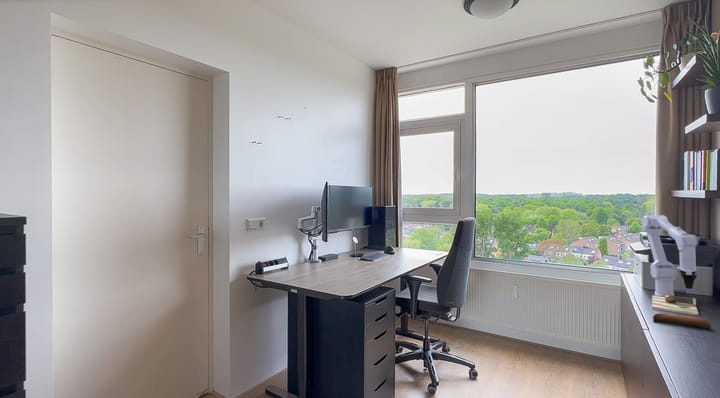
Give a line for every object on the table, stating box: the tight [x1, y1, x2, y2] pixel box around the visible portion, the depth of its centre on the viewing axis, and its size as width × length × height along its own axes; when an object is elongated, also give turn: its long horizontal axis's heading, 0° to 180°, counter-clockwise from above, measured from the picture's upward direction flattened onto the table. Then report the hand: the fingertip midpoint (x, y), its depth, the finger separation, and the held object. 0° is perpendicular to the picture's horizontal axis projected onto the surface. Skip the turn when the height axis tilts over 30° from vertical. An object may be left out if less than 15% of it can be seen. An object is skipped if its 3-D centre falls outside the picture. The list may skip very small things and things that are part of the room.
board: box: [651, 295, 699, 316], centre depth 167 cm, size 22×16×1 cm
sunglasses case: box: [652, 312, 712, 331], centre depth 146 cm, size 18×7×7 cm
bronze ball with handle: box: [665, 295, 697, 306], centre depth 167 cm, size 11×4×3 cm, turn 49°
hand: (688, 286), depth 167 cm, fingers open, 7 cm apart
